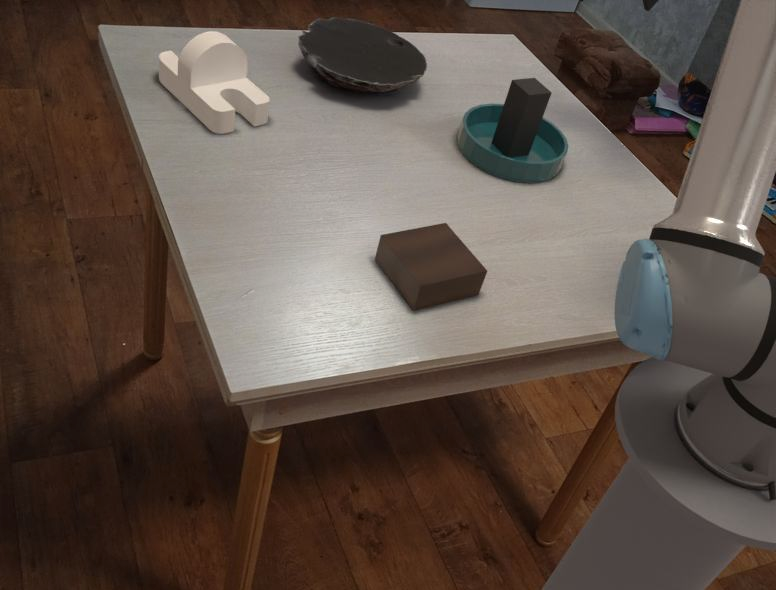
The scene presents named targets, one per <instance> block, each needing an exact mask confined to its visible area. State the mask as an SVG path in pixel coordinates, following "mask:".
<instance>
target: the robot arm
mask: <svg viewBox="0 0 776 590" xmlns="http://www.w3.org/2000/svg"><path fill="white" fill-rule="evenodd" d="M658 2H659V0H642V5H643V9H644V10H645V11H647V12H649V11H650V10H652V8H653V7H654V6H655V5H656V4H657V3H658ZM709 94H710V95H709V98H708V101H707V103H706V106H705V110H704V113H703V116H702V120H701V123H700V125H699V129H698V131H697V135H696V138H695V142H694V145H693V147H692V150H691V154H690V157H689V160H688V164H687V167H686V169H685V172H684V175H683V179H682V182H681V185H680V188H679V192H678V195H677V198H676V201H675V205H674V207H673V210H672V213H671V214H670V215H669V216H667V217H666V218H664V219H662V220H661V221H659V222H657V223H655V224H654V225H653V226H652V228H651V231H650V235H649V238H647V237H645V238H643V239H640V238H639V239H637V240H635V241H633V243H631V245H630V246H629V248H628V250H627V252H626V255H625V259H624V261H623V263H622V265H621V268H620V272H619V276H618V280H617V285H616V289H615V290H616V291H615V298H614V299H615V300H614V326H615V330H616V334H617V336H618V338H619V340H620V341H621V343H622V344H623V345H624V346H625V347H627V348H629V349H631V350H633V351H636V352H639V353H642V354H645V355H648V356H651V358H652V357H654V358H656V359H658V360H667V361H670V362H674V363H677V364H681V365H684V366H688V367H691V368H695V369H698V370H702V371H705V372H709V373H712V374H711V375H710V376H708V377H707V378H705V379H704V380H702V381H701V382H699V383H697V384H696V385H694V386H693V387H692V388H691V389H689V390H688V392H686V393H685V395H684V396H683V397H682V399H681V400H680V402H679V403H678V405H677V407H676V409H675V414H674V422H675V427H676V431H677V433H678V436H679V438H680V440H681V442H682V443H683V445H684V447H685V448H686V449H687V451H688V452H689V453H690V454H691V455H692V457H693V458H694V459H695V460H696V461H697V462H698V463H700V464H701V465H702V466H703V467H704V468H705V469H707V470H708V471H710V472H711V473H712V474H714V475H716V476H717V477H719V478H721V479H722V480H724V481H726V482H729V483H731V484H733V485H736V486H739V487H742V488H746V489H750V490H757V491H769V498H770V500H776V491H775V489H776V277H775V276H771V275H768V274H764V273H761V272H760V269H761V267H762V264H763V261H764V257H765V254H766V253H765V251H764V248H763V247H762V245H761V244H760V242H759V240H758V239H757V234H756V232H757V229H758V227H759V223H760V220H761V218H762V214H763V212H764V208H765V205H766V202H767V200H768V197H769V193H770V190H771V187H772V184H773V181H774V178H775V175H776V0H739V4H738V7H737V10H736V13H735V16H734V19H733V22H732V26H731V29H730V32H729V34H728V39H727V41H726V44H725V48H724V51H723V54H722V57H721V60H720V63H719V66H718V69H717V73H716V75H715V79H714V83H713V86H712V88H711V91H710V93H709Z"/></svg>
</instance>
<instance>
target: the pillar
mask: <svg viewBox="0 0 776 590" xmlns="http://www.w3.org/2000/svg"><path fill="white" fill-rule="evenodd" d="M552 94H553V93H552V91H551V90H550V89H548V88H547V86H545V85H544V84H543V83H542V82H540V81H539V80H538V79H537V78H536V77H528V78H527V77H526V78H518V79H512V80H511V82H510V85H509V88H508V91H507V94H506V97H505V101H504V103H503V104H504V106H503V109H502V112H501V115H500V118H499V121H498V124H497V127H496V130H495V133H494V136H493V139H492V144H493V145H494V146H495V147H496V148H497V149H498V150H499V151H500V152H501V153H502V154H503V155H504V156H507V157H517V156H524V155H529V153H530V150H531V148H532V145H533V142H534V139H535V137H536V134H537V131H538V129H539V126H540V123H541V120H542V118H543V117H544V115H545V112H546V109H547V107H548V104H549V101H550V98H551V97H552Z"/></svg>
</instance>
